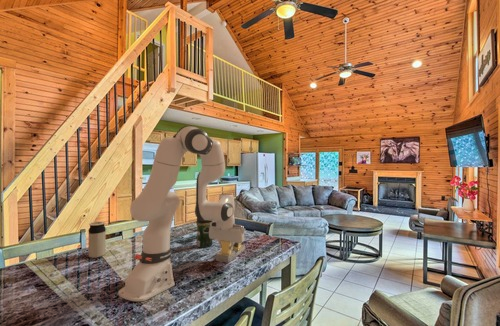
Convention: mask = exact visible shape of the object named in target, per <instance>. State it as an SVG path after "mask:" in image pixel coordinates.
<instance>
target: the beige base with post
mask: <svg viewBox="0 0 500 326" xmlns="http://www.w3.org/2000/svg"><path fill="white" fill-rule="evenodd" d="M245 250H246V245H243V244H242V243H234V245H233V249H232V250H231V253H229V254H228V255H226V254H221V250H218V251H217V252H215V261H216V262H221V263H226V264H230V262H231V261H233V260H234V259H235V258H236V257H237V256H239V255H240V254H241V253H243V252H244V251H245Z"/></svg>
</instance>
